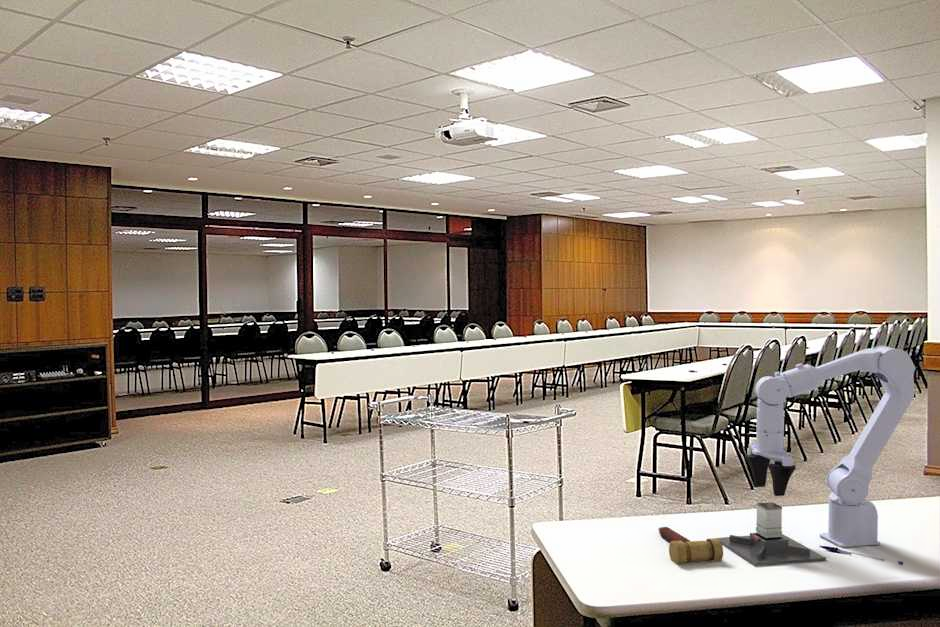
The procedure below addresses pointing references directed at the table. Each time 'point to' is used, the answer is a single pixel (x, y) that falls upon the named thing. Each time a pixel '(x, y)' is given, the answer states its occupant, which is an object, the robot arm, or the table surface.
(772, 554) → the stand base
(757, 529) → the grey rectangular block
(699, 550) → the gavel
